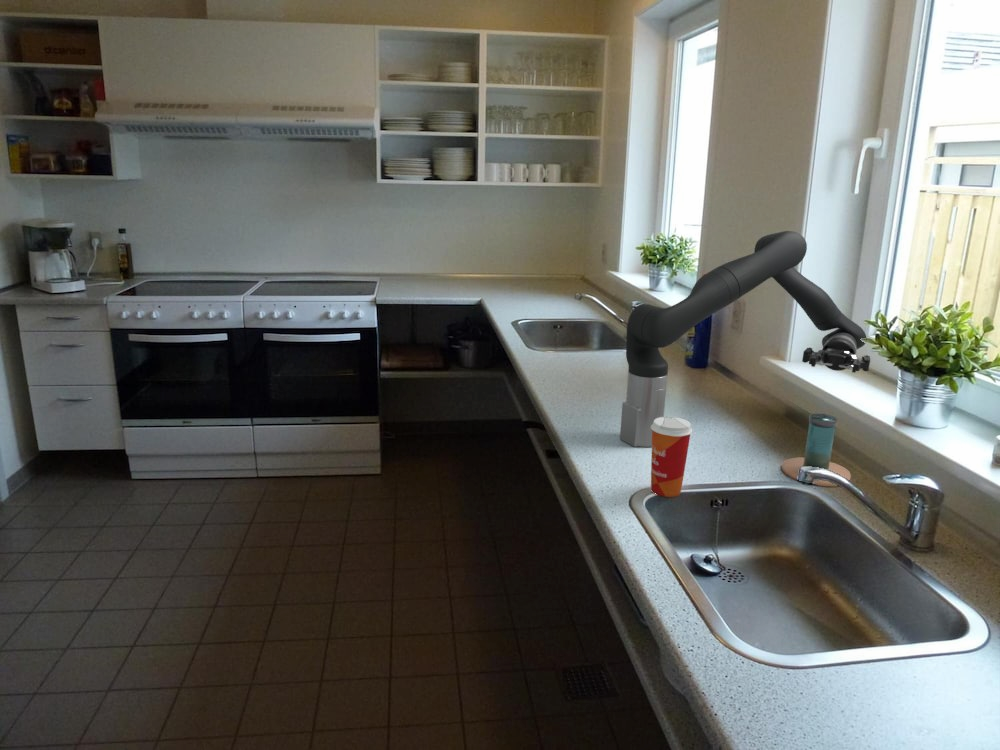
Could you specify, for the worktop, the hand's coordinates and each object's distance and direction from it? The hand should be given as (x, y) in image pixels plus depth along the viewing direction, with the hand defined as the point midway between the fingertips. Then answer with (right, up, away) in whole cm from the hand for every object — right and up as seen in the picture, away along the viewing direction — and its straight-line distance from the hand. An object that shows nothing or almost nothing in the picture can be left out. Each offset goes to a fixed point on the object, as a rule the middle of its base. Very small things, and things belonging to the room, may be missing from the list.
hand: (833, 365), depth 167 cm
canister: (-6, -23, -4) cm, 24 cm away
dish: (-6, -24, -3) cm, 25 cm away
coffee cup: (-41, -26, -15) cm, 51 cm away
